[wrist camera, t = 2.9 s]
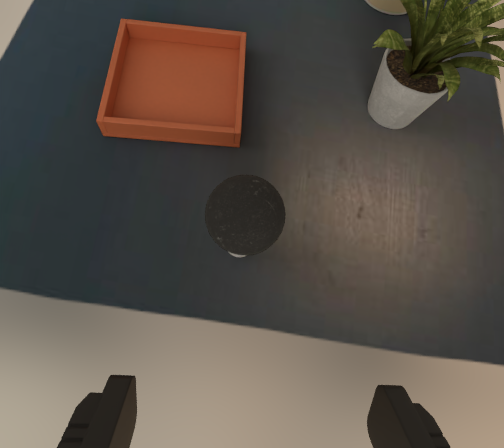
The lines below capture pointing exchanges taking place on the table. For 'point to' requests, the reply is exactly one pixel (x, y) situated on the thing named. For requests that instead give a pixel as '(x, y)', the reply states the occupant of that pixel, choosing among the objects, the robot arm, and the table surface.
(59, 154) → the table surface
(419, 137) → the table surface
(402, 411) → the robot arm
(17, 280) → the table surface
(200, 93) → the terracotta tray
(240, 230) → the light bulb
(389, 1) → the coffee cup
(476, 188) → the table surface
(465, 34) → the house plant
